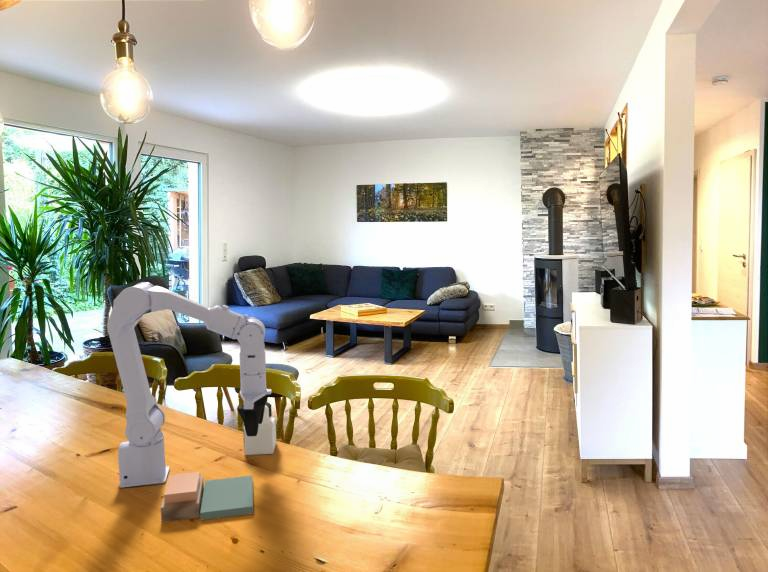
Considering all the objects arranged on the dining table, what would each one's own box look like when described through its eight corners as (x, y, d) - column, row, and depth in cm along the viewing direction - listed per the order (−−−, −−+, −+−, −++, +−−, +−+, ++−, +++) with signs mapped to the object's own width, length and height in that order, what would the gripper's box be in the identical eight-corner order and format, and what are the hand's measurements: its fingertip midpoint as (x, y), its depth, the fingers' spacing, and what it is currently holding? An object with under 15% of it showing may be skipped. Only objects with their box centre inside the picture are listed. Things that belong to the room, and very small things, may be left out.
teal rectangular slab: (200, 520, 111) (200, 512, 111) (205, 487, 124) (205, 480, 124) (253, 513, 113) (253, 506, 113) (252, 481, 127) (252, 475, 126)
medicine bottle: (248, 444, 148) (246, 399, 146) (276, 443, 148) (274, 398, 147) (244, 455, 141) (242, 408, 139) (273, 454, 141) (271, 407, 140)
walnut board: (161, 522, 110) (160, 507, 110) (169, 493, 122) (168, 480, 121) (199, 517, 112) (198, 503, 111) (203, 489, 123) (203, 476, 123)
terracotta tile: (164, 503, 111) (163, 494, 111) (170, 482, 120) (169, 474, 120) (196, 499, 113) (196, 491, 112) (200, 479, 121) (199, 471, 121)
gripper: (266, 380, 123) (268, 441, 124) (274, 363, 137) (276, 417, 139) (232, 381, 122) (235, 442, 124) (245, 364, 137) (247, 418, 138)
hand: (254, 429), depth 131 cm, fingers open, 7 cm apart
